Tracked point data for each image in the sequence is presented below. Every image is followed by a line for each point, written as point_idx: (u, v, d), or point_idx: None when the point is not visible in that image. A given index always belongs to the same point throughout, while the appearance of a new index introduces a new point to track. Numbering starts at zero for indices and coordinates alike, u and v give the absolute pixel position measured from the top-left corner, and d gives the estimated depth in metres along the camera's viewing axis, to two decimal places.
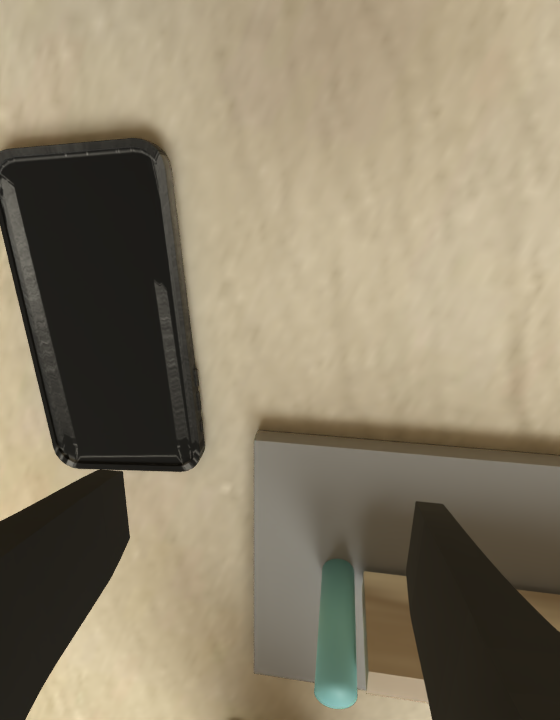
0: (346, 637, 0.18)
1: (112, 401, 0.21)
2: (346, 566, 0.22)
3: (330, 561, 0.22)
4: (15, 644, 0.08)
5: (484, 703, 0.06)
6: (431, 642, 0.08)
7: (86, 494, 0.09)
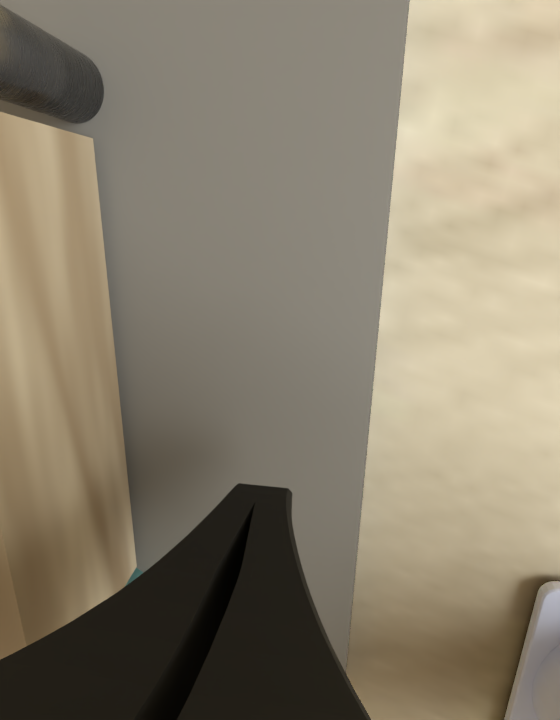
0: None
1: None
2: None
3: None
4: None
5: None
6: None
7: (247, 512, 0.09)
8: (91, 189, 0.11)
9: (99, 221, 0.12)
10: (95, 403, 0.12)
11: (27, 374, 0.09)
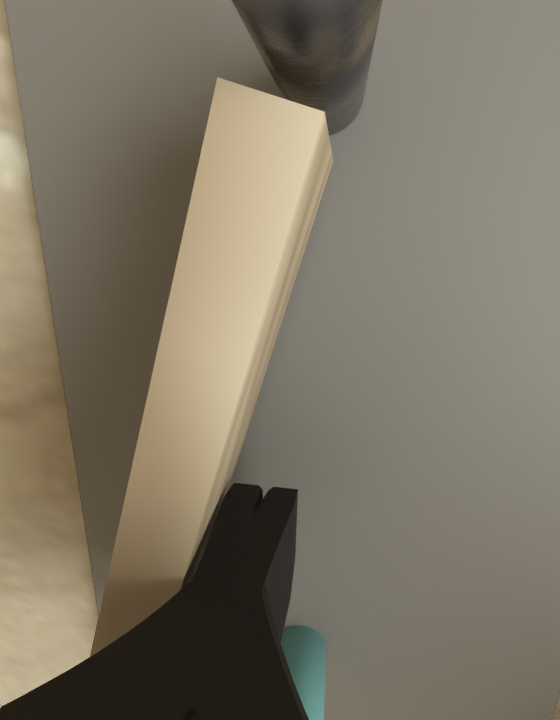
0: None
1: None
2: None
3: None
4: None
5: None
6: None
7: (288, 516, 0.09)
8: (314, 217, 0.09)
9: (304, 250, 0.10)
10: (237, 449, 0.10)
11: (234, 436, 0.08)
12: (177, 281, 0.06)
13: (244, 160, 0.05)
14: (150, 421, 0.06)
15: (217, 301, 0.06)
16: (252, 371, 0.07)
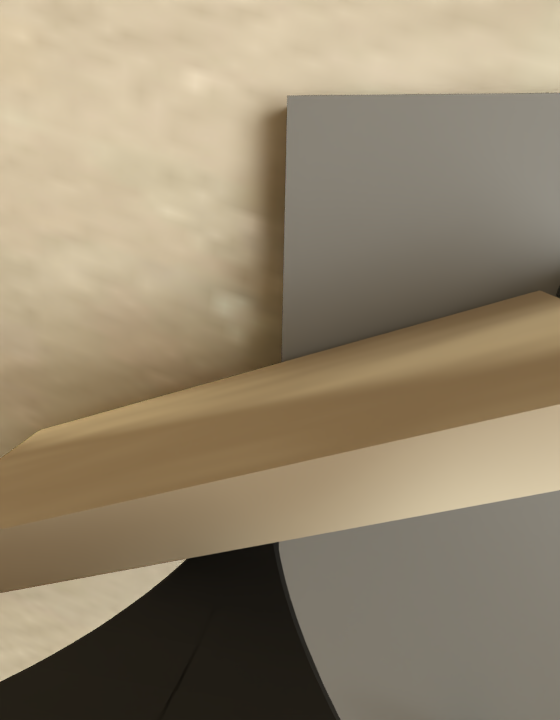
0: None
1: None
2: None
3: None
4: None
5: None
6: None
7: None
8: None
9: None
10: None
11: None
12: (512, 419, 0.05)
13: None
14: (353, 457, 0.06)
15: (514, 457, 0.06)
16: None
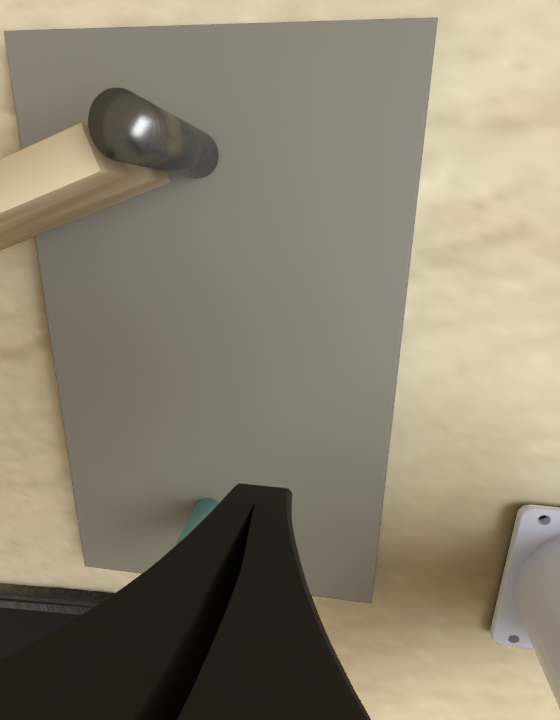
0: None
1: None
2: (193, 509, 0.21)
3: None
4: None
5: None
6: None
7: (247, 512, 0.09)
8: (138, 193, 0.16)
9: (123, 200, 0.17)
10: (1, 242, 0.17)
11: None
12: (11, 157, 0.12)
13: (66, 153, 0.12)
14: None
15: (18, 179, 0.12)
16: (18, 214, 0.13)
